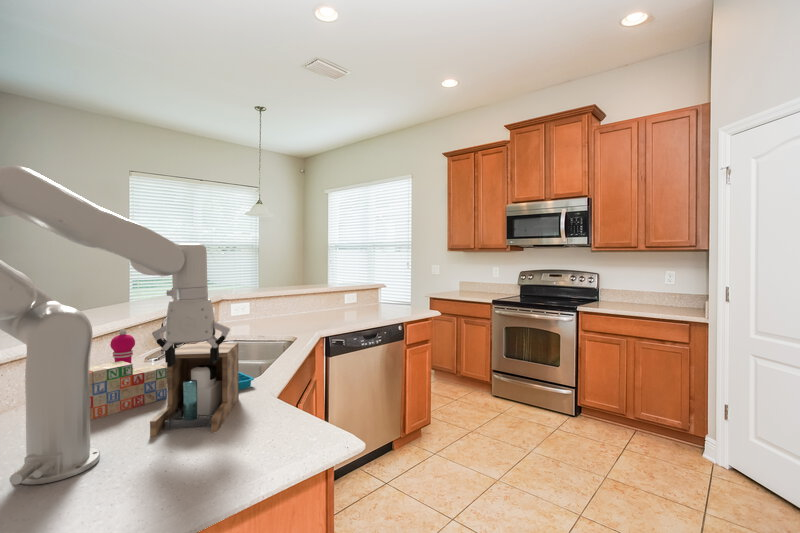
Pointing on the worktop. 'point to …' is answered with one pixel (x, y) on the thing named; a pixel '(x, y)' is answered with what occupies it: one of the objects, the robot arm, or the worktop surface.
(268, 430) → the worktop surface
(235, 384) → the shelf lane
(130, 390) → the stack of blocks
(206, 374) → the medicine bottle
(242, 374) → the ice cube tray
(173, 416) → the frame
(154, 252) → the robot arm
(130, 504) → the worktop surface
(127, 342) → the pepper mill
